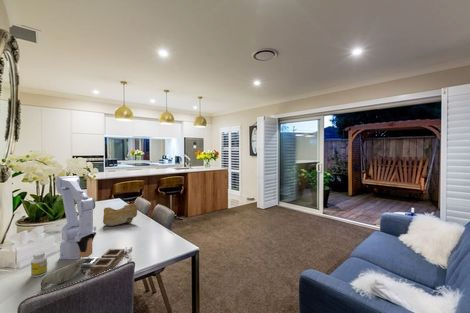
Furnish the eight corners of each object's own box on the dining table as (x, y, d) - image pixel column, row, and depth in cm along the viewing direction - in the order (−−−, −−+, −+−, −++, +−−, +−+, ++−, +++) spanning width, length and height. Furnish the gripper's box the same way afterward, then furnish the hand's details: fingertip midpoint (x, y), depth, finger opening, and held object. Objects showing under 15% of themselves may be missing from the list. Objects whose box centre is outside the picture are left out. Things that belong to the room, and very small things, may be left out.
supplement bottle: (28, 275, 100) (28, 254, 99) (42, 269, 105) (42, 249, 104) (35, 278, 98) (35, 257, 97) (49, 272, 103) (49, 251, 102)
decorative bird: (39, 288, 92) (39, 270, 92) (83, 271, 105) (83, 256, 104) (42, 293, 89) (42, 275, 88) (87, 276, 101) (88, 260, 101)
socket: (72, 268, 106) (72, 265, 106) (82, 260, 114) (82, 257, 114) (89, 268, 107) (89, 265, 107) (98, 260, 115) (98, 257, 115)
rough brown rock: (137, 218, 184) (137, 201, 184) (137, 223, 168) (136, 204, 169) (105, 222, 174) (105, 203, 175) (102, 228, 159) (102, 207, 160)
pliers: (108, 260, 112) (120, 247, 127) (108, 263, 112) (120, 250, 127) (129, 259, 114) (137, 246, 128) (129, 262, 114) (138, 249, 128)
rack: (87, 274, 102) (87, 267, 102) (108, 253, 122) (109, 248, 122) (107, 274, 103) (108, 267, 103) (125, 253, 123) (125, 248, 123)
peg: (79, 257, 108) (79, 241, 108) (84, 253, 112) (84, 238, 112) (87, 257, 109) (87, 241, 108) (92, 253, 113) (92, 238, 112)
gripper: (85, 228, 103) (85, 256, 103) (102, 218, 117) (101, 243, 118) (69, 228, 102) (69, 256, 103) (88, 218, 117) (88, 243, 117)
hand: (85, 249), depth 110 cm, fingers closed on peg, 4 cm apart
